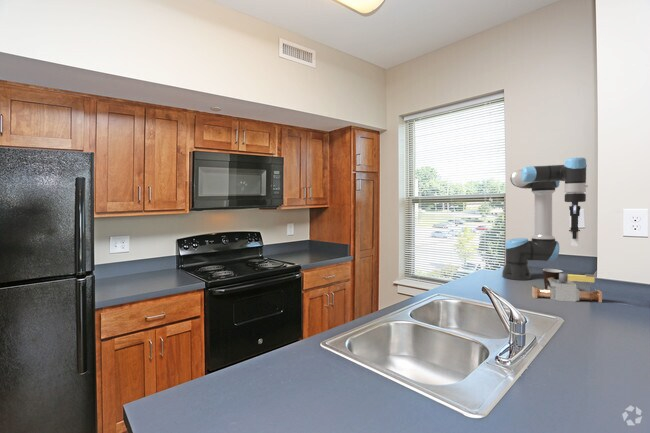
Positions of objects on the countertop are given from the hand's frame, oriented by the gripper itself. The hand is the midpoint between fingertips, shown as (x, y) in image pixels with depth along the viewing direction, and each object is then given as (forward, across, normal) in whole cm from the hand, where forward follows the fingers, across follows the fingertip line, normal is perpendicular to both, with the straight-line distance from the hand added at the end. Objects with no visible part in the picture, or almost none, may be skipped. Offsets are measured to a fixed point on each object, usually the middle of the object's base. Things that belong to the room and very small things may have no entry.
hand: (574, 245), depth 148 cm
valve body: (+26, +6, +4) cm, 27 cm away
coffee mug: (+26, +20, +8) cm, 34 cm away
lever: (+18, +7, -1) cm, 19 cm away
